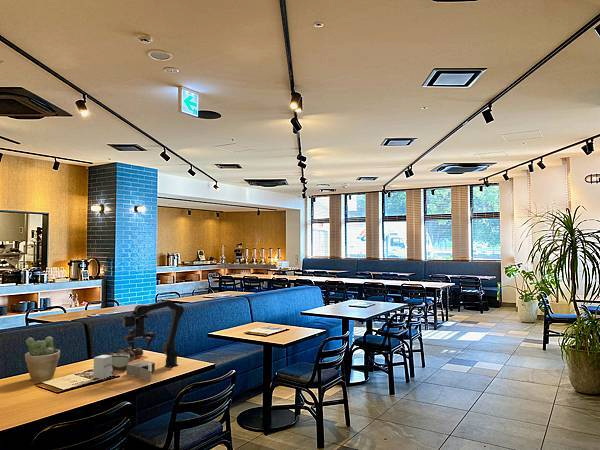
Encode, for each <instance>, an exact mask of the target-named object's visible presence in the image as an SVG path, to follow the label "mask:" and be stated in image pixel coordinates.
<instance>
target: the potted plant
mask: <svg viewBox="0 0 600 450" xmlns="http://www.w3.org/2000/svg"><path fill="white" fill-rule="evenodd" d="M25 343H26V344H25V345H26V346H27V348H28V352H26V353H25V354H24V359H25V363H26V367H27V370H28V374H29V378H30V379H31V381H32V382H46V381H49V380H52V379H53V378H54V377H55V372H56V369H57V368H58V367H57V366H58V364H59V363H58V362H59V359H60V355H61V350H60V349H57V348H55V347H54V345H55V344H54V337H52V336H46V337H45V339H44V340H43V339H42V340H35V339H34V338H33V337H28V338H27V339H26V340H25Z"/></svg>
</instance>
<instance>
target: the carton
mask: <svg viewBox="0 0 600 450" xmlns="http://www.w3.org/2000/svg"><path fill="white" fill-rule="evenodd" d="M148 363H151V364H152V371H151V375H153V374H155V373H156V367H155V366H156V362H153V361H149V360H146V359H144V360H141V361H138V362H134V363H130V364H127V366H126V371H125V372H126V374H125V375H128V376H133V377H135V378H136V377H137V378H140V377H139V368H143V369H146V370H148Z"/></svg>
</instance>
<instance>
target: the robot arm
mask: <svg viewBox="0 0 600 450" xmlns="http://www.w3.org/2000/svg"><path fill="white" fill-rule="evenodd" d="M166 307H168V309H170V310H171V322H170V327H169V330H168V336H167V340H166V341H163V343H162V346H161V349H162V353H164V355H165V356H166V358H165V365H164V367H167V368H174V367H178V366H179V364H178V361H177V359H178V356H179V353H178V352H177V351H176V335H177V332H178V327H179V323H180V320H181V318H182V317H183V314H184V312H185V308H184V307H183V306H182V305H179V304H177V303H175V302H173V301H172V300H170V299H165V300H161V301H158V302H153V303H150V304H138V305H136V306H135V307H134V308H133V309H134V310H133V312H132V313H131V314H130V315H124V316H123V318H122V321H121V325H122V327H123V328H129V329H127V334H128V335H124V337H123V341H124V342H126V343H128V346H129V347H131V350H132V352H133V351H134V350H135V341H134V340H138V339H144V338H145V350H148V349H149V347H150V344H151V343H152V341H153V340H154V339H155V338H156V337H157V335H156V334H157V333H155V332H153V331H150V332H145V331H146V329H147V328H146V327H147V326H146V319H148V318H149V316H148V315H147V314H148V313H149V312H151V311H155V310H159V309H163V308H166ZM130 327H132V328H133V329H132V328H130Z"/></svg>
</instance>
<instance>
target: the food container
mask: <svg viewBox="0 0 600 450" xmlns="http://www.w3.org/2000/svg"><path fill="white" fill-rule="evenodd" d="M111 356H112V372H116V371H117V372H126V366H127V364H128V361H129V358H130V355H129V353H116V352H115V354H112V355H111Z"/></svg>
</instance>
